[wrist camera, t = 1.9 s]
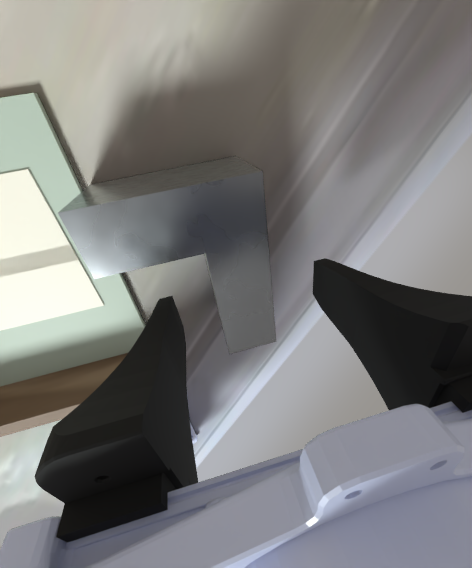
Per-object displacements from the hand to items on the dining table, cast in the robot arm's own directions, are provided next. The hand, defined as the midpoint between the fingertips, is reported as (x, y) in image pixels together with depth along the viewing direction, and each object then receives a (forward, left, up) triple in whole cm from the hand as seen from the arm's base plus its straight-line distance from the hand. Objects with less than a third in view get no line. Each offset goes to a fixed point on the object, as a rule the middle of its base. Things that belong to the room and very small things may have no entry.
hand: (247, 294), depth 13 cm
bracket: (0, +2, -6) cm, 6 cm away
